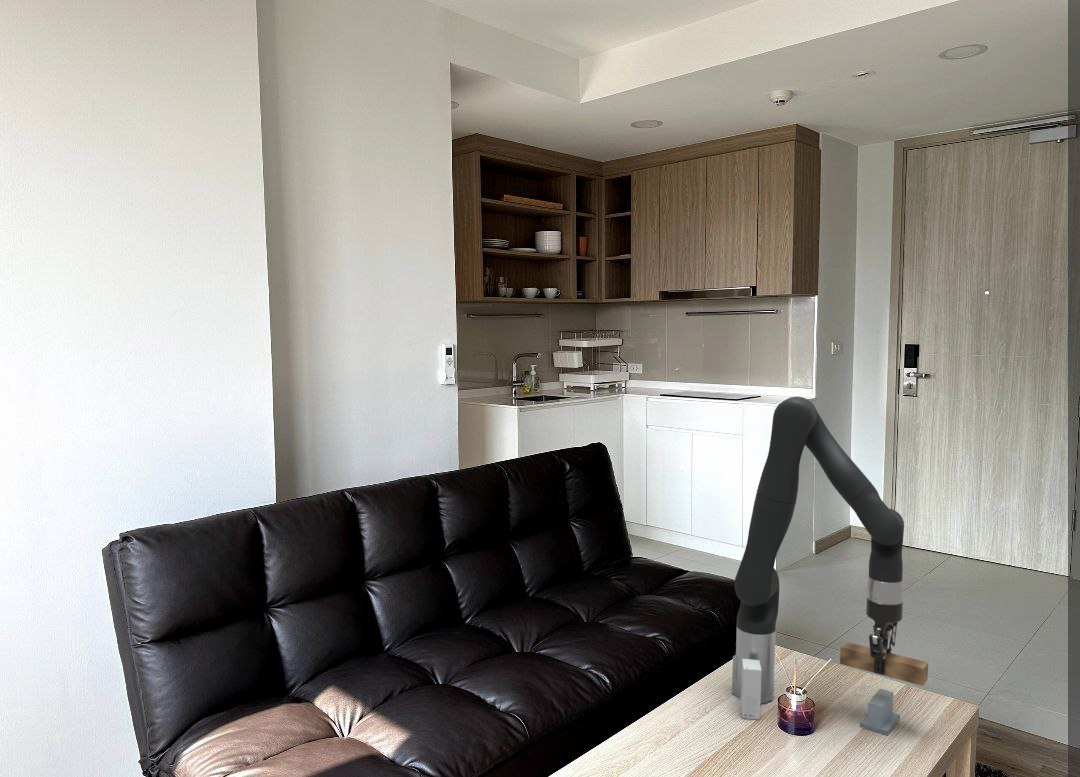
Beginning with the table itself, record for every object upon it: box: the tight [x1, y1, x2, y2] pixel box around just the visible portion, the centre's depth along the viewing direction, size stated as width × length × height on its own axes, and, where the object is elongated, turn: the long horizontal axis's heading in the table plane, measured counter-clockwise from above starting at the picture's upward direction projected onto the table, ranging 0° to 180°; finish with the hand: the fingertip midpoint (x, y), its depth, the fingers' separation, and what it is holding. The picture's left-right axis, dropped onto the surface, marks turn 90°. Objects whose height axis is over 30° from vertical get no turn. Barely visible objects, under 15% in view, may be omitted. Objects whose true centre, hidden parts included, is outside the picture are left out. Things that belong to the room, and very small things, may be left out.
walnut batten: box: [839, 641, 929, 687], centre depth 178 cm, size 18×4×4 cm, turn 51°
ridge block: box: [859, 688, 901, 736], centre depth 179 cm, size 6×10×6 cm, turn 141°
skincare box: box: [740, 659, 761, 721], centre depth 183 cm, size 6×4×12 cm
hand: (882, 669), depth 178 cm, fingers closed on walnut batten, 4 cm apart
